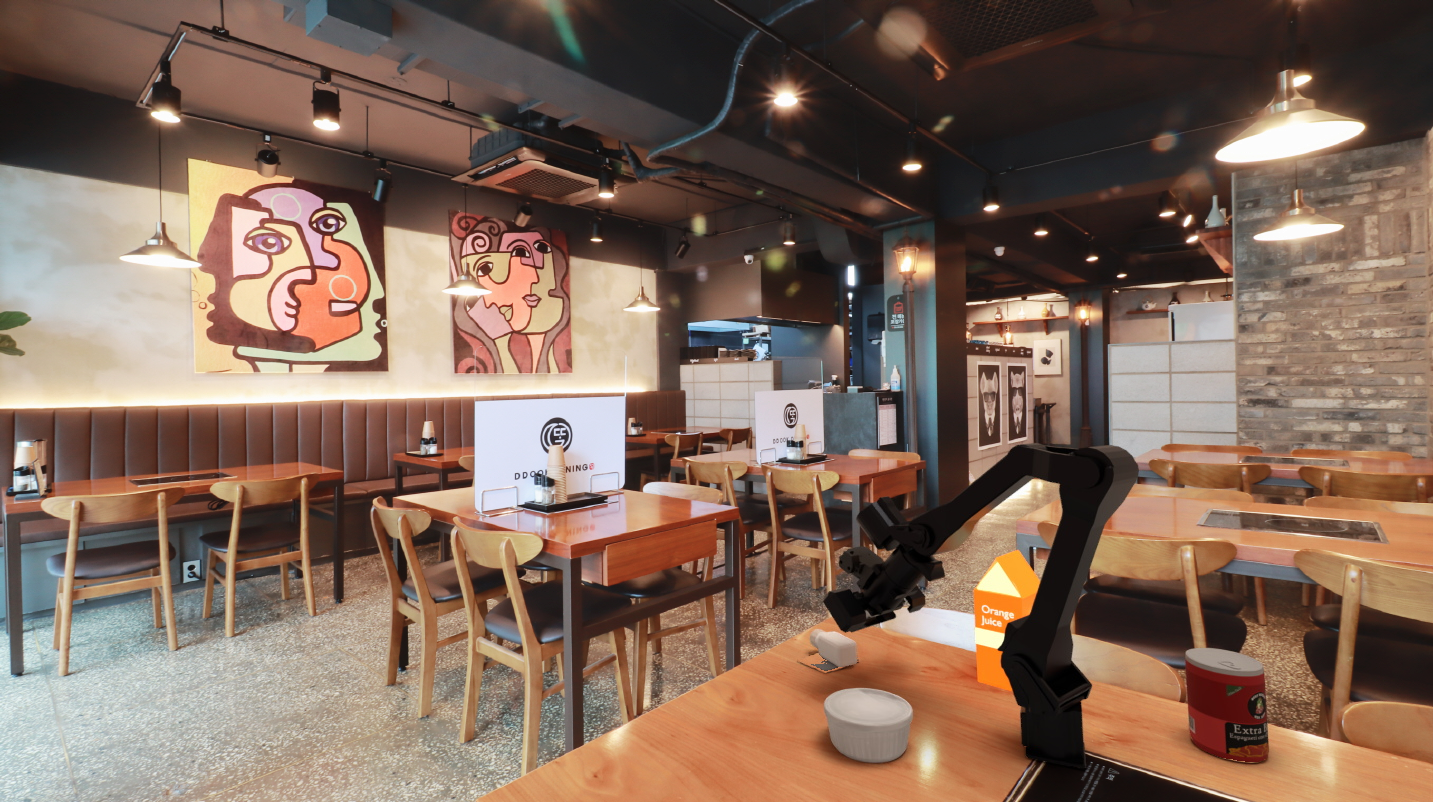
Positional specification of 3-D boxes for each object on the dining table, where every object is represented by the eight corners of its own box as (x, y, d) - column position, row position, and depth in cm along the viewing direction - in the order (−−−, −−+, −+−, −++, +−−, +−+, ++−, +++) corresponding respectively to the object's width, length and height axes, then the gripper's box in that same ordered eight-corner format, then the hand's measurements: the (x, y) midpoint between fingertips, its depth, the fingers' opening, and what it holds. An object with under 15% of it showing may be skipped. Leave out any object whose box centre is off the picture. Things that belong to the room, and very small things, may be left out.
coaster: (858, 662, 111) (858, 659, 111) (825, 673, 107) (825, 670, 107) (829, 651, 117) (829, 648, 117) (797, 661, 112) (797, 658, 112)
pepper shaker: (839, 669, 108) (807, 650, 116) (858, 664, 109) (825, 646, 118) (839, 645, 108) (807, 628, 116) (858, 641, 109) (825, 624, 118)
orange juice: (976, 681, 102) (970, 555, 102) (1001, 666, 108) (995, 546, 108) (1027, 695, 96) (1020, 561, 97) (1050, 678, 102) (1043, 552, 103)
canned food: (1239, 769, 75) (1233, 674, 75) (1173, 738, 82) (1169, 651, 83) (1286, 758, 77) (1281, 665, 77) (1218, 728, 84) (1213, 644, 85)
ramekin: (923, 736, 85) (921, 696, 85) (901, 778, 75) (899, 732, 76) (842, 719, 91) (841, 681, 91) (812, 755, 81) (811, 713, 81)
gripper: (907, 525, 109) (861, 580, 118) (828, 540, 98) (784, 599, 107) (950, 580, 102) (898, 633, 111) (870, 601, 92) (820, 659, 100)
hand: (850, 629), depth 107 cm, fingers closed
